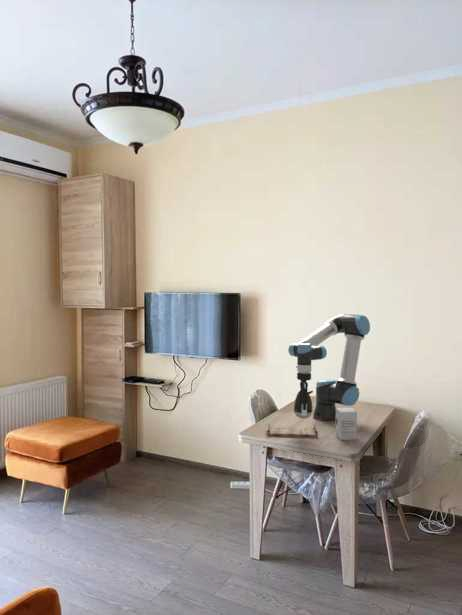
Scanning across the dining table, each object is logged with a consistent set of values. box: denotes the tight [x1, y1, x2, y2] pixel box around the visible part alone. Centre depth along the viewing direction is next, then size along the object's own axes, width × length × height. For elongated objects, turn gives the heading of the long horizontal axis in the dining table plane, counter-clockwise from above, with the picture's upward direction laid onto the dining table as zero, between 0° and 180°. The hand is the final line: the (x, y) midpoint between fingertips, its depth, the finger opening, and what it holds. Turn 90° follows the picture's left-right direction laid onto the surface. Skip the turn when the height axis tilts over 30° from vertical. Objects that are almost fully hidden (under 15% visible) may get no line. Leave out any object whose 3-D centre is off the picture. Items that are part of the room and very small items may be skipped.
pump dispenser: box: [293, 389, 314, 419], centre depth 259 cm, size 10×10×15 cm
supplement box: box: [335, 407, 358, 441], centre depth 254 cm, size 9×9×15 cm
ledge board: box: [267, 422, 319, 439], centre depth 260 cm, size 26×12×4 cm, turn 86°
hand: (303, 413), depth 260 cm, fingers closed on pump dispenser, 10 cm apart
